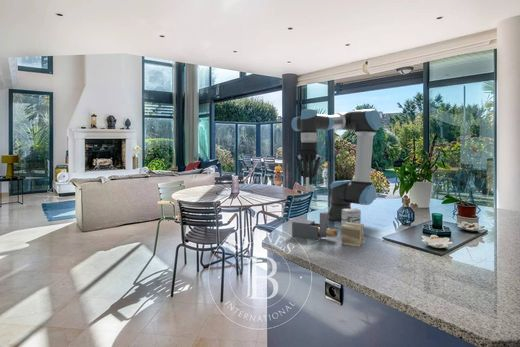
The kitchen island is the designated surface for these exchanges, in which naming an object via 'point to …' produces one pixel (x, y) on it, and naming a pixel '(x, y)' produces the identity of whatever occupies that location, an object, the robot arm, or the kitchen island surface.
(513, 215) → the kitchen island surface
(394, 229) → the kitchen island surface
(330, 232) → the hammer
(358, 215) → the ink box
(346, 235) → the socket
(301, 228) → the sleeve
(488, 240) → the kitchen island surface
